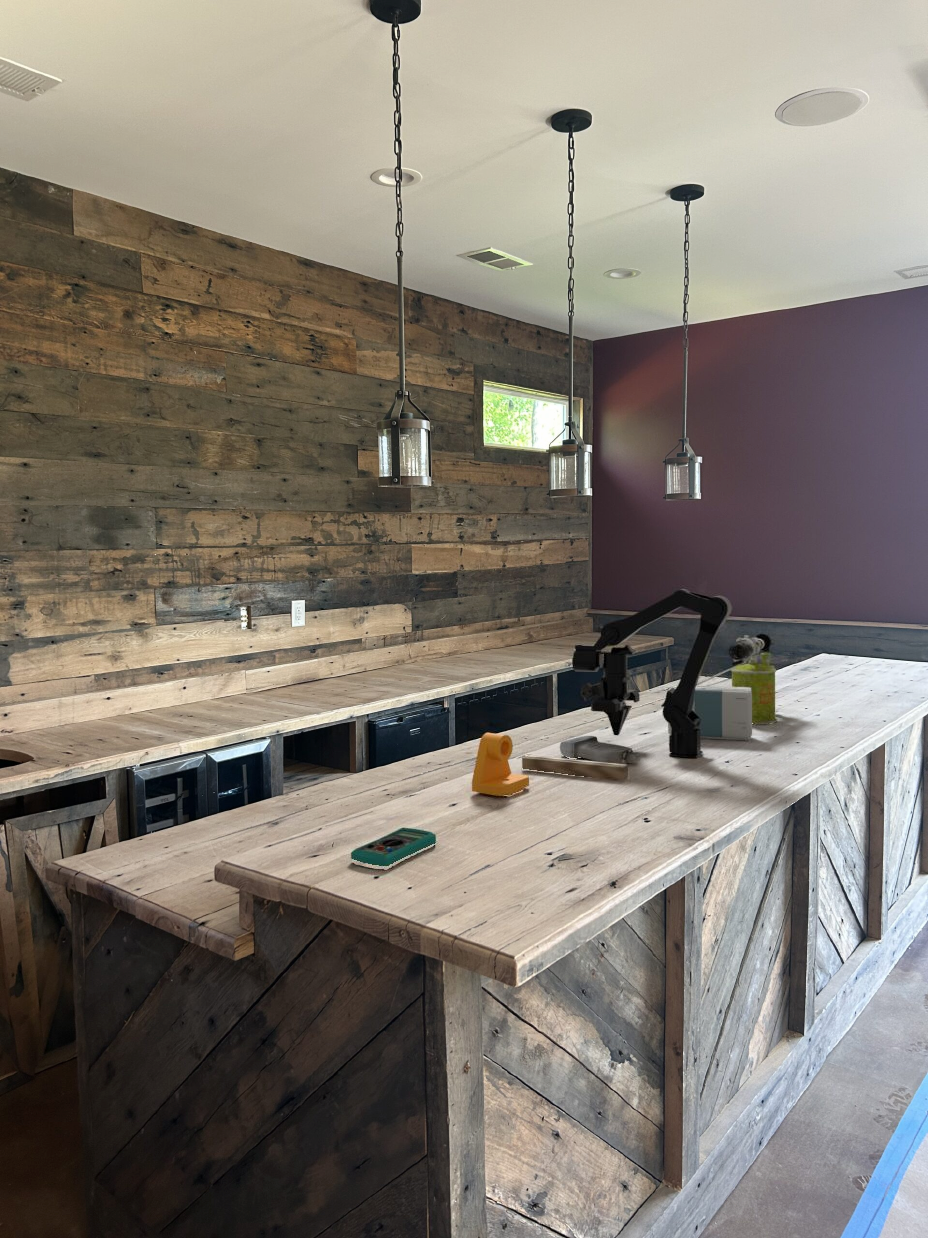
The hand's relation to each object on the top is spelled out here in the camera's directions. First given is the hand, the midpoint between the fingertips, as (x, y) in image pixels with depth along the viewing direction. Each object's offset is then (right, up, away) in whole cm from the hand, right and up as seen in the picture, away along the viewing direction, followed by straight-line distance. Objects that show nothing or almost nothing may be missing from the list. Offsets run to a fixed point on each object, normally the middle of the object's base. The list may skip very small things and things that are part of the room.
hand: (616, 735), depth 224 cm
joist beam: (-13, -6, -23) cm, 27 cm away
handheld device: (-5, -5, -9) cm, 11 cm away
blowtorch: (+45, -1, +35) cm, 57 cm away
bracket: (-30, -7, -36) cm, 47 cm away
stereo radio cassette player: (+27, -3, +13) cm, 30 cm away
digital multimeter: (-49, -11, -74) cm, 90 cm away
